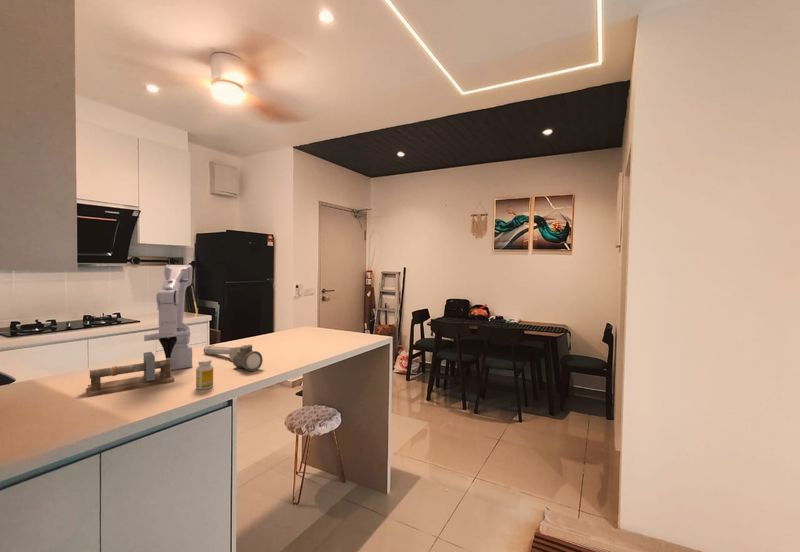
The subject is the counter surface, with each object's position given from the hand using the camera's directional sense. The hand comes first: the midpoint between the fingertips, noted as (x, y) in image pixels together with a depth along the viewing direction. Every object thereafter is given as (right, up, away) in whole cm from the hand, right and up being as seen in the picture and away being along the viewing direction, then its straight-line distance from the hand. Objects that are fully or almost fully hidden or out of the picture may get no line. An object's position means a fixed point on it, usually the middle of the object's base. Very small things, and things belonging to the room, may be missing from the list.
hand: (168, 357), depth 135 cm
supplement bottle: (+19, -9, -9) cm, 22 cm away
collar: (-4, -7, -4) cm, 9 cm away
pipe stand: (-8, -8, -7) cm, 14 cm away
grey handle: (+5, -8, +33) cm, 34 cm away
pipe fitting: (+23, -8, +15) cm, 29 cm away
